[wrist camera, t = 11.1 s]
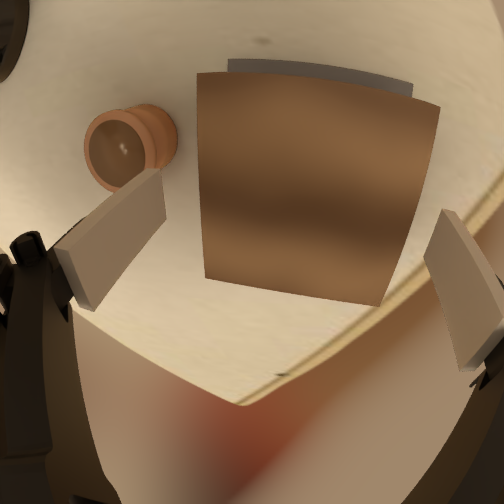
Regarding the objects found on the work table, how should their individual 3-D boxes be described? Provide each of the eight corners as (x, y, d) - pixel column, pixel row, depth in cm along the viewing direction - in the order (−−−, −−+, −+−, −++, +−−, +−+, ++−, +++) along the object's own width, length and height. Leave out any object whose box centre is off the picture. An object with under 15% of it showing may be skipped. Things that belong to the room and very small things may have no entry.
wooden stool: (246, 71, 19) (197, 73, 11) (393, 91, 17) (440, 107, 10) (242, 209, 26) (205, 278, 18) (365, 228, 24) (379, 306, 17)
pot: (113, 104, 23) (78, 115, 19) (179, 99, 22) (148, 108, 18) (120, 172, 27) (90, 192, 23) (182, 175, 26) (156, 198, 22)
